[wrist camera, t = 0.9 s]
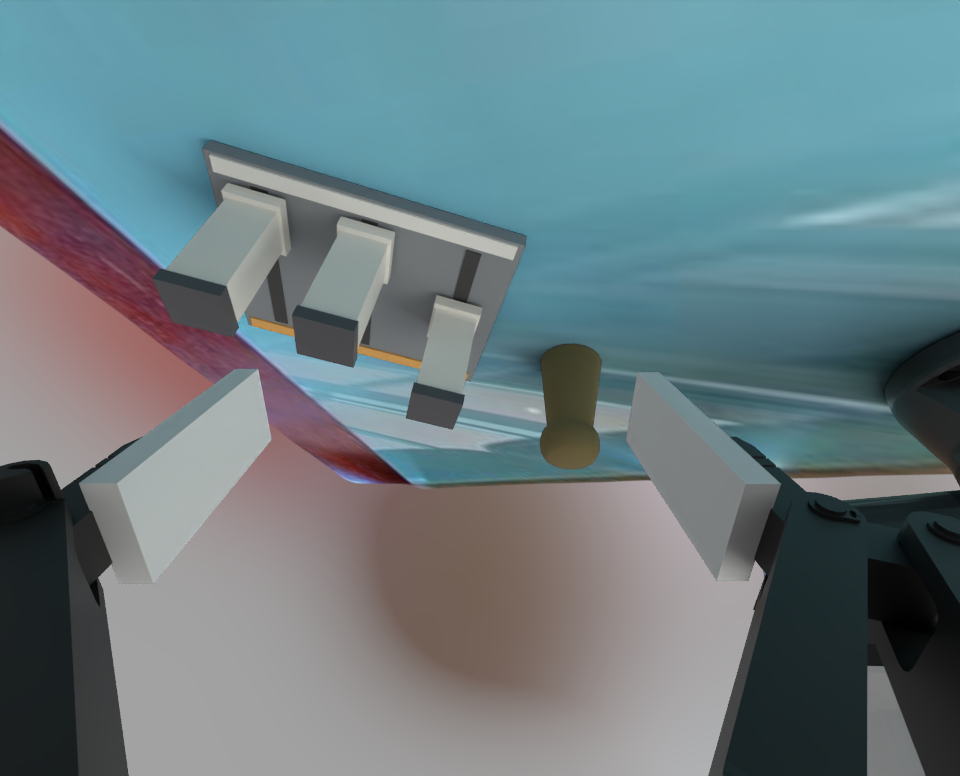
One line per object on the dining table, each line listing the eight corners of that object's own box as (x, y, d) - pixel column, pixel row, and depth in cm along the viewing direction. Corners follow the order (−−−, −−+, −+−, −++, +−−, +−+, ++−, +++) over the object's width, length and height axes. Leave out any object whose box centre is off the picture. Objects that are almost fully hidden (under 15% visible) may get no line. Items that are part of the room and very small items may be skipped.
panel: (471, 372, 48) (470, 383, 47) (253, 316, 45) (247, 326, 44) (526, 236, 34) (525, 247, 33) (210, 139, 31) (200, 149, 30)
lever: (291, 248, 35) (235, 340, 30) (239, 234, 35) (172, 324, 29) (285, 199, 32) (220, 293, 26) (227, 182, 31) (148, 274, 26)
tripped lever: (470, 340, 41) (453, 431, 36) (428, 329, 41) (404, 419, 35) (482, 307, 38) (465, 403, 32) (436, 295, 37) (410, 389, 32)
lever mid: (390, 276, 36) (354, 370, 31) (341, 262, 36) (295, 355, 30) (395, 232, 33) (356, 328, 27) (341, 216, 32) (289, 311, 27)
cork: (595, 384, 47) (598, 480, 40) (537, 379, 47) (531, 473, 41) (607, 346, 42) (612, 448, 36) (543, 341, 43) (536, 441, 36)
